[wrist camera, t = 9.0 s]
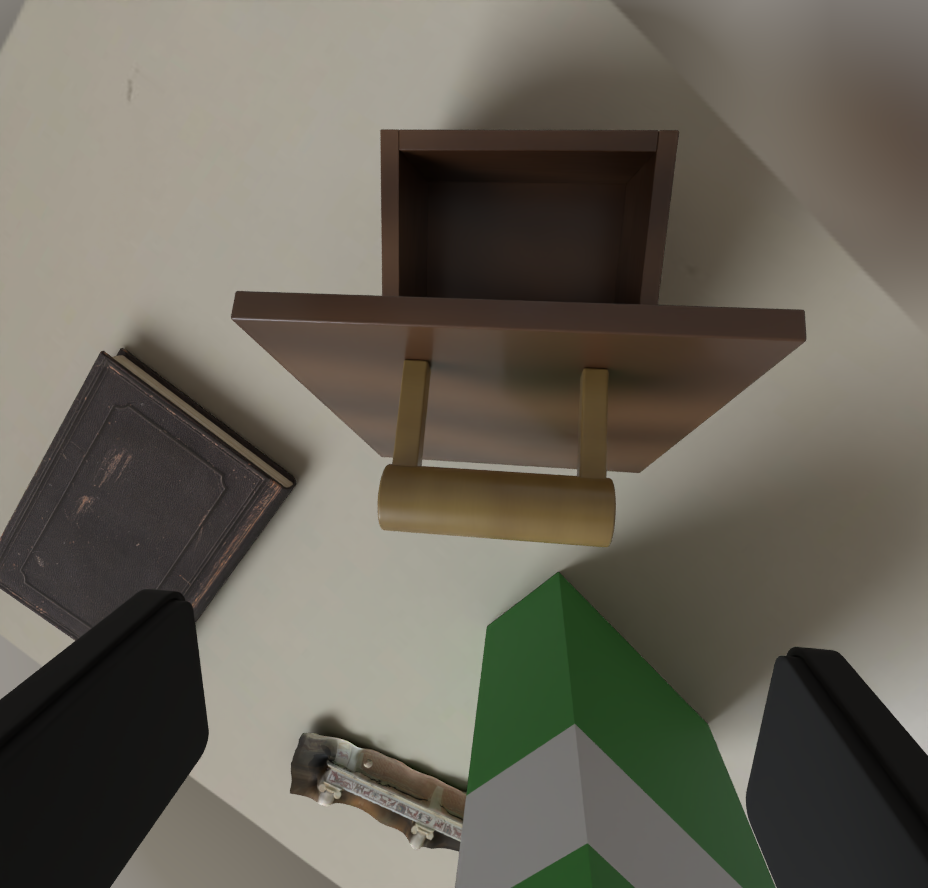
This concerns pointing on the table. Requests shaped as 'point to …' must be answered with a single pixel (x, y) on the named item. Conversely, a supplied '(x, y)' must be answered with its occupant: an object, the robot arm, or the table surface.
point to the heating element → (379, 790)
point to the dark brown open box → (526, 214)
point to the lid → (515, 396)
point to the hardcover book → (135, 501)
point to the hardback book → (593, 765)
